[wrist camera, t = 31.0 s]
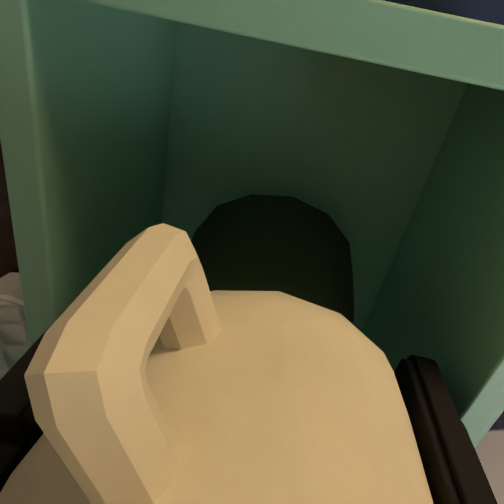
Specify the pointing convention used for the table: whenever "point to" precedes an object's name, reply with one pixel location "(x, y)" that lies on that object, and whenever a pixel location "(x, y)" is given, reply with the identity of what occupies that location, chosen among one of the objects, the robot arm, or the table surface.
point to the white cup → (12, 322)
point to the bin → (270, 153)
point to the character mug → (219, 375)
